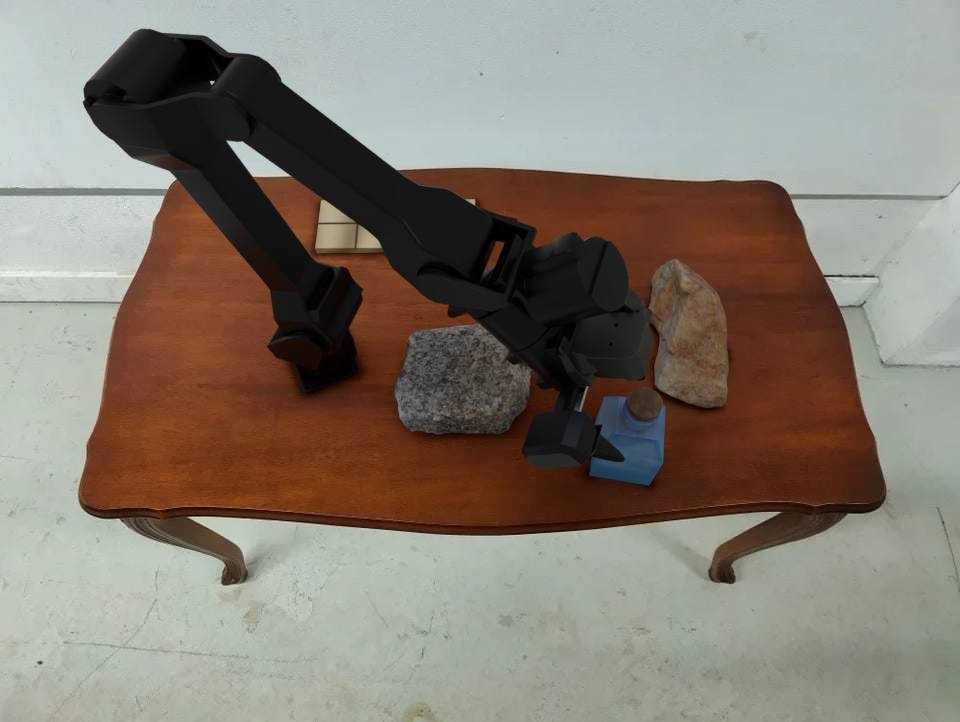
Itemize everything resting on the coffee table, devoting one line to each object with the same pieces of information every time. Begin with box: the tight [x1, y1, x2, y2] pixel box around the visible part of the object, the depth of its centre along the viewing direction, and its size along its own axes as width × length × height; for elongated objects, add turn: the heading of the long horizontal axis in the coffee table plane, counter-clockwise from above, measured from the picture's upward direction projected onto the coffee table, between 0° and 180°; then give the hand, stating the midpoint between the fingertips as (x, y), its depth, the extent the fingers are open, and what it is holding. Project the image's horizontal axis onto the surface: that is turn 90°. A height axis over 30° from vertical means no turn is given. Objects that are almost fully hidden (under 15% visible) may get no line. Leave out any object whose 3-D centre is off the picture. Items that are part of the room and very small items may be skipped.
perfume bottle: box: [589, 386, 667, 487], centre depth 70 cm, size 6×6×12 cm
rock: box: [393, 322, 533, 436], centre depth 76 cm, size 13×6×15 cm
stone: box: [647, 258, 730, 409], centre depth 81 cm, size 17×9×10 cm, turn 172°
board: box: [314, 198, 476, 254], centre depth 90 cm, size 21×8×1 cm, turn 91°
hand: (631, 418), depth 68 cm, fingers open, 9 cm apart
